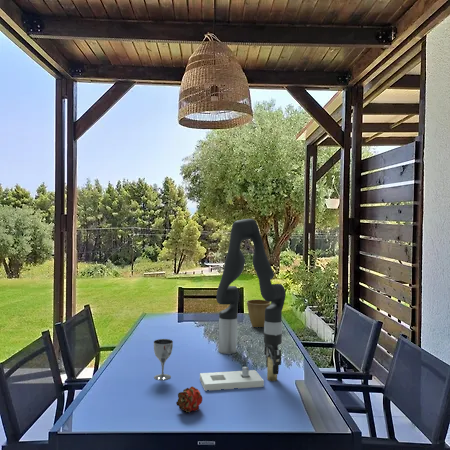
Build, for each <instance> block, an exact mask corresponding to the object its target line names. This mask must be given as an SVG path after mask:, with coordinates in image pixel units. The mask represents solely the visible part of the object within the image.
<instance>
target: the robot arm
mask: <svg viewBox="0 0 450 450" xmlns="http://www.w3.org/2000/svg"><path fill="white" fill-rule="evenodd" d="M232 223H233V224H232V225H231V230H230V237H229V245H228V250H227V255H226V258H225V262H224V266H223V270H222V276H221V278H220V282H219V285H218V287H217V291H216V302H217V304H219V305H223V306H224V305H226V306H228V307H227V308H225V309H222V310H220V311H219V314H218V353H220V354H225V355H231V354H235V353H236V352H237V345H238V344H237V343H238V340H237V339H238V312H239V310H238V309H239V299H240V295H239V294H240V293H239V289H238V287H237V286H236V285H235V286H234V285H231V284H232V283H234V282H235V281H236V280H237V279H238V278H239V277H240V276H241V275H242V273H243V271H244V268H245V263H246V259H245V255H244V253H243V252H242V250H241V244H242V242H243V241H246V240H251V241H252V243H253V247H254V248H253V257H252V265H253V270H254V272H255V274H256V276H257V279H258V284H259V291H260V295H261V297H262V298H263V300H266V301H268V302H270V306H268V307H267V308H266V309H265V323H264V327H263V343H264V356H265V359H266V361H265V362H266V363H265V364H266V367H267V362H268V357H271V360H272V361H273V374H277V375H279V368H280V365H282V350H281V349H279V347H278V346H279V345H282V341H283V325H282V323H283V322H282V316H283V315H282V313H283V309H284V304H285V300H286V289H285V287H284V285H283V284H281V283H273V284H272V281H271V280H273V279H274V277H275V273H274V270H273V268H272V266H271V263H270V261H269V259H268V257H267V254H266V250H265V247H264V242H263V239H262V235H261V231H260V228H259V226H258V223H257V221H256V220H255V219H253V218H244V219H239V220H236V221H234V222H232ZM276 360H277V362H276Z"/></svg>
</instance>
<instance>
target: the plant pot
mask: <svg viewBox="0 0 450 450" xmlns="http://www.w3.org/2000/svg"><path fill="white" fill-rule="evenodd" d="M270 304H271V302H268V301H266V300H264V299H249V300H247V301H246V305H247V306H246V307H247V311H248V316H249V320H250V323H251V327H253V328H254V327H263V328H264V323H265V309H266V308H267V307H268V306H270Z"/></svg>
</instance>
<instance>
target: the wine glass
mask: <svg viewBox="0 0 450 450" xmlns="http://www.w3.org/2000/svg"><path fill="white" fill-rule="evenodd" d="M173 343H174V341H173V339H170V338H169V339H168V338H158V339H155V340H153V353H154V356H155V357H156V358H157V359H158V361H159V362H160V364H161V365H160V366H161V373H159V374H156V375H154V377H153V378H154V380H157V381H167V380H170V379H171V378H172V376H171V375H170V374H167V373H164V371H165V370H164V369H165V364H166V361H167V360H168V359H169V357H170V356H171V355H172V351H173V348H174V344H173Z"/></svg>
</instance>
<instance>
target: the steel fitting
mask: <svg viewBox="0 0 450 450" xmlns="http://www.w3.org/2000/svg"><path fill="white" fill-rule="evenodd" d="M241 369H242V370H241V371H242V378H248V377H249V370H250V367H249V366H242V368H241Z"/></svg>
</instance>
